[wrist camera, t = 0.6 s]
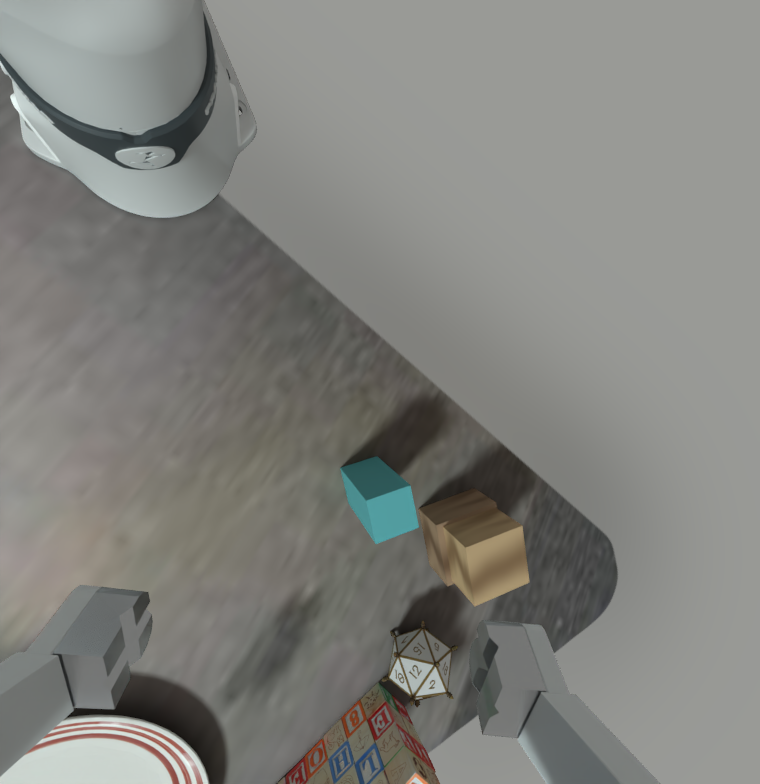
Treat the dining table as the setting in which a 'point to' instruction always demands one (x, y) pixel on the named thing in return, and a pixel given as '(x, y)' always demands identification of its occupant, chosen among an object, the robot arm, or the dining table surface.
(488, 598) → the oak top block
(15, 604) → the dining table surface
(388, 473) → the teal pillar
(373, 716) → the stack of blocks
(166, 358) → the dining table surface
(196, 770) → the dinner plate
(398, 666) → the game die
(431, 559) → the walnut base block
